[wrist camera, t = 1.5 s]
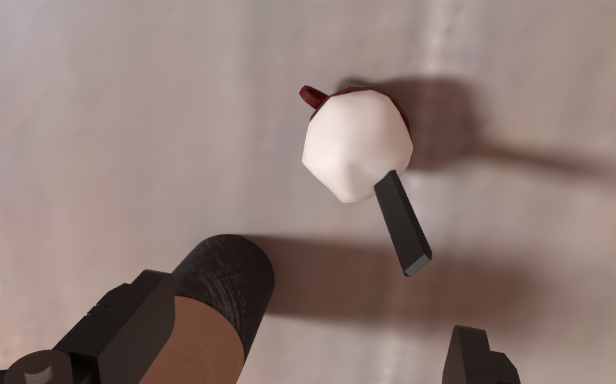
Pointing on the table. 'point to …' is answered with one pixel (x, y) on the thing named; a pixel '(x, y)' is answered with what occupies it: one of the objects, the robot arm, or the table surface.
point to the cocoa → (366, 160)
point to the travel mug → (214, 313)
